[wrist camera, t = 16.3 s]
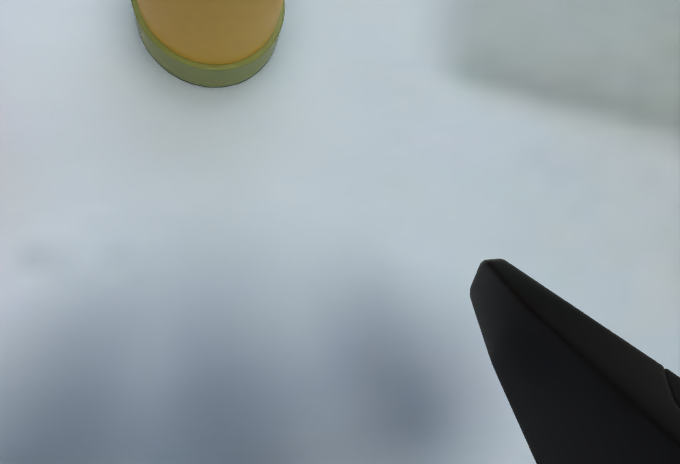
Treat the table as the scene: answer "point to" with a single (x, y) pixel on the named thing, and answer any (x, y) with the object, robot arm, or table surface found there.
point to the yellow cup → (210, 37)
